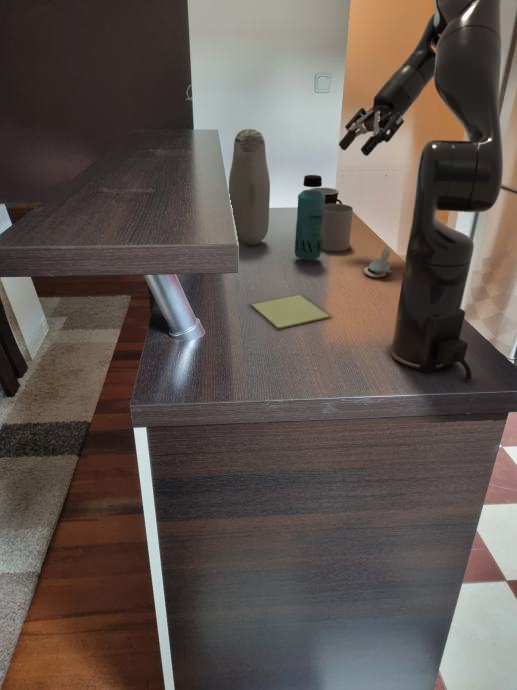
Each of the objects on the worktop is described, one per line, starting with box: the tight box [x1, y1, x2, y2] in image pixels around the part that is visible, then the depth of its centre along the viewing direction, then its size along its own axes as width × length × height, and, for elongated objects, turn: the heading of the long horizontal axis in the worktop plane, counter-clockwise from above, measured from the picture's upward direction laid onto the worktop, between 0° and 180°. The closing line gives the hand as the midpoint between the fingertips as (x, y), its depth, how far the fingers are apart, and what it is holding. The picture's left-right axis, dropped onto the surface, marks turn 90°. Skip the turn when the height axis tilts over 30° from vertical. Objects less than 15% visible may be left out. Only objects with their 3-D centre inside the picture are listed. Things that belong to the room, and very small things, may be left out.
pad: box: [251, 294, 330, 330], centre depth 99 cm, size 11×11×1 cm
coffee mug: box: [308, 187, 343, 204], centre depth 147 cm, size 12×9×10 cm
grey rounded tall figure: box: [228, 128, 271, 246], centre depth 128 cm, size 10×10×28 cm
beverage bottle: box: [293, 174, 325, 260], centre depth 119 cm, size 6×7×20 cm
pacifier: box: [363, 246, 393, 278], centre depth 115 cm, size 7×6×6 cm
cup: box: [321, 203, 354, 252], centre depth 132 cm, size 8×8×10 cm
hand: (352, 150), depth 116 cm, fingers open, 8 cm apart
